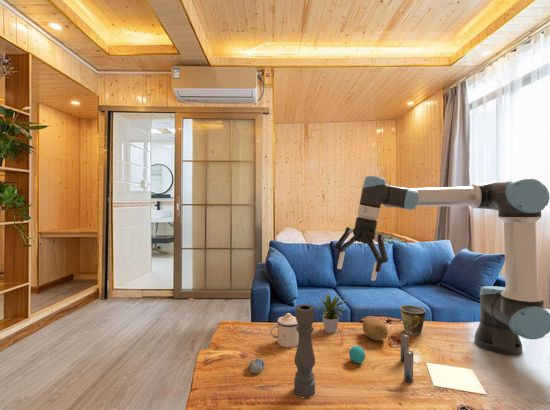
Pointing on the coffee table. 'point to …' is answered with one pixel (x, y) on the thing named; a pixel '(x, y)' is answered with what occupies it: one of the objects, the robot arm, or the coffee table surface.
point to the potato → (375, 328)
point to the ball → (357, 354)
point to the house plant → (331, 313)
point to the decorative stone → (256, 365)
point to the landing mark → (454, 378)
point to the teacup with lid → (286, 331)
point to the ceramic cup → (412, 319)
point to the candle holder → (304, 352)
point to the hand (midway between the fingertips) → (355, 274)
